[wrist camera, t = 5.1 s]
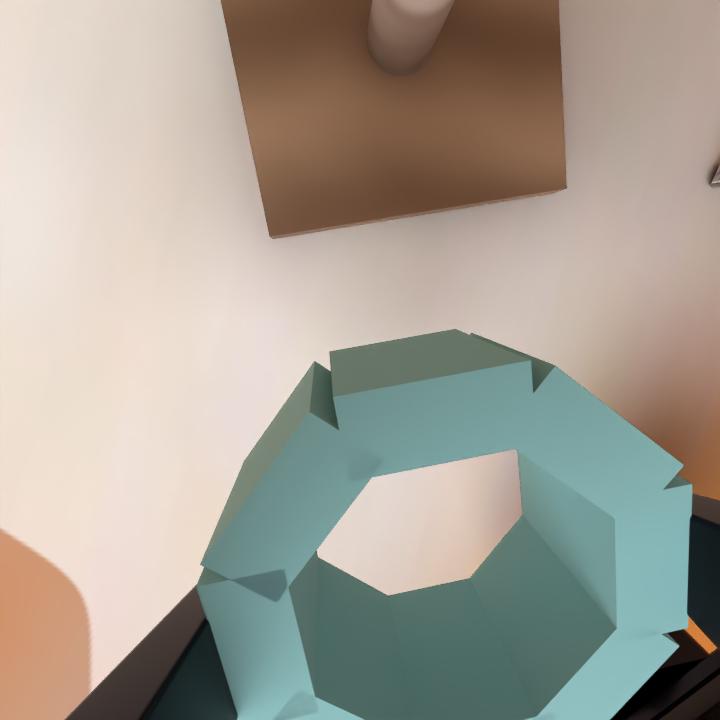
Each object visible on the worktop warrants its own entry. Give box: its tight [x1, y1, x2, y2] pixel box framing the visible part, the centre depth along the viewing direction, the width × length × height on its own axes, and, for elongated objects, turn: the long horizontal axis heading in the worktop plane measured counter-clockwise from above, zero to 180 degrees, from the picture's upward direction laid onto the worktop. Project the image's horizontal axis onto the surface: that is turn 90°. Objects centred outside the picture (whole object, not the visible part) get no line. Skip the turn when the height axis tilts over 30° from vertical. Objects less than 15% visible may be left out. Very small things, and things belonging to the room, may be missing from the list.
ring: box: [196, 329, 693, 720], centre depth 7 cm, size 7×7×3 cm
